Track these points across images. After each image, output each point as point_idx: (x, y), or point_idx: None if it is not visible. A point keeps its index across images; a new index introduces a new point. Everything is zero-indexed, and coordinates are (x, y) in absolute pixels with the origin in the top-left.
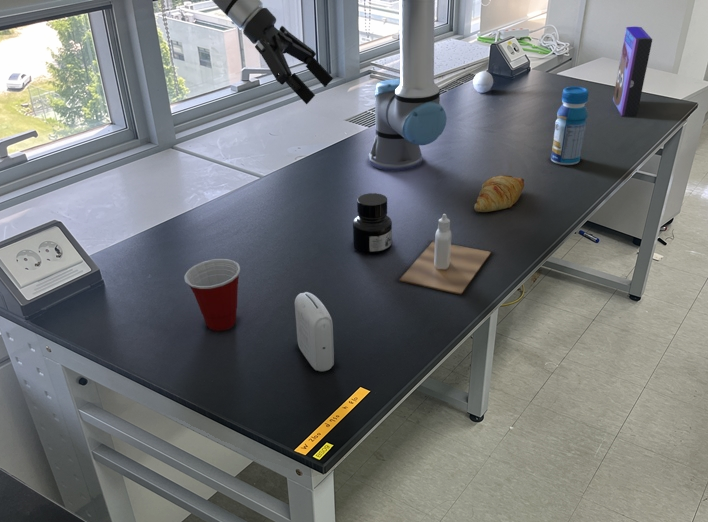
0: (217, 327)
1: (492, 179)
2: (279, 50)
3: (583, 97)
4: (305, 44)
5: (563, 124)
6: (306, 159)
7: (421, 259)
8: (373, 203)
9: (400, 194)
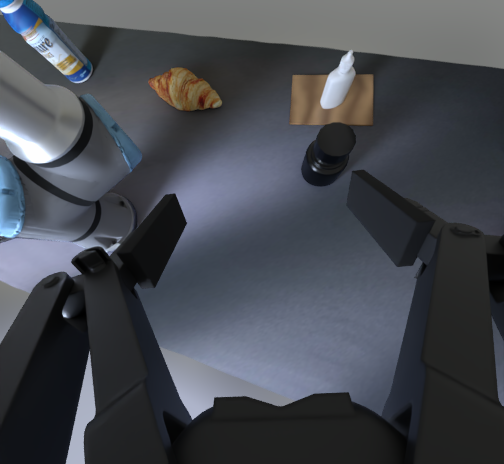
0: None
1: (176, 88)
2: (485, 396)
3: None
4: (8, 330)
5: (48, 30)
6: None
7: (329, 120)
8: (348, 132)
9: (194, 187)
